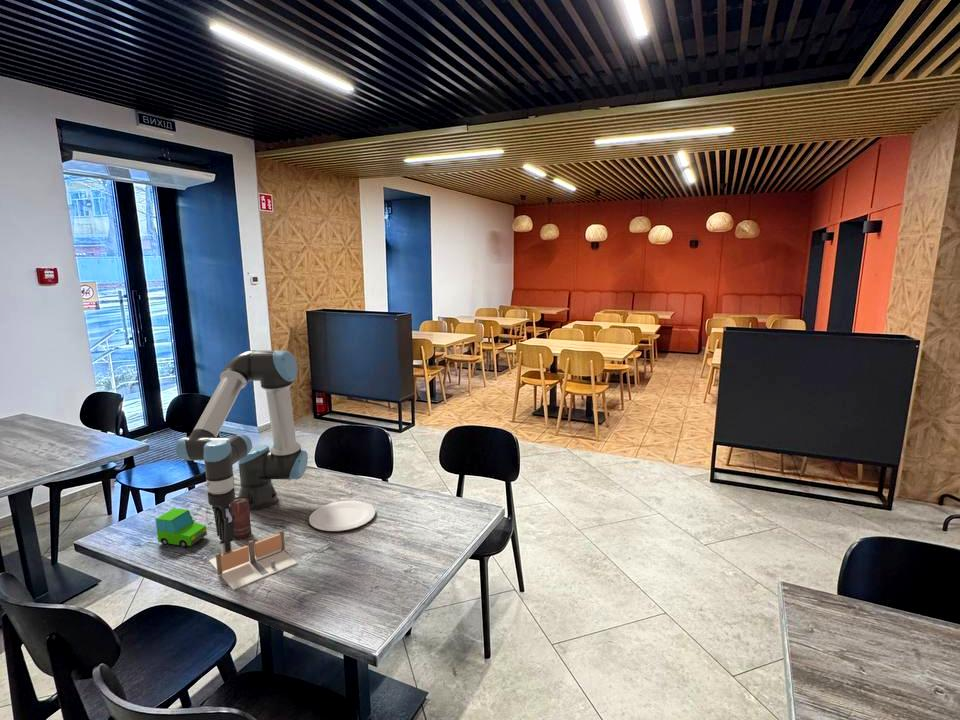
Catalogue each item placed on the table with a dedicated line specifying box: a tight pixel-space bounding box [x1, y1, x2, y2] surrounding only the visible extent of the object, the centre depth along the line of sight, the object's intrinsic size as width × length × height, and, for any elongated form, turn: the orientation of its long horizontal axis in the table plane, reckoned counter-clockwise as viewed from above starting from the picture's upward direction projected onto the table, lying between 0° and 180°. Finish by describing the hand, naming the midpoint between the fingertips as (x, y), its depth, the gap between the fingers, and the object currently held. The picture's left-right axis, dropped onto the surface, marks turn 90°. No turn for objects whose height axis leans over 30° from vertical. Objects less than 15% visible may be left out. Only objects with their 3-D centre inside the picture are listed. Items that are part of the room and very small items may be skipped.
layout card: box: [208, 542, 298, 591], centre depth 168 cm, size 20×22×2 cm
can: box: [229, 497, 252, 541], centre depth 183 cm, size 6×6×14 cm
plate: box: [308, 500, 376, 533], centre depth 198 cm, size 25×25×2 cm
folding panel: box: [215, 545, 249, 576], centre depth 163 cm, size 10×1×7 cm, turn 135°
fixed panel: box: [248, 529, 286, 563], centre depth 171 cm, size 12×2×7 cm, turn 135°
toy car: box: [155, 507, 208, 549], centre depth 180 cm, size 10×13×10 cm
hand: (227, 559), depth 163 cm, fingers closed
